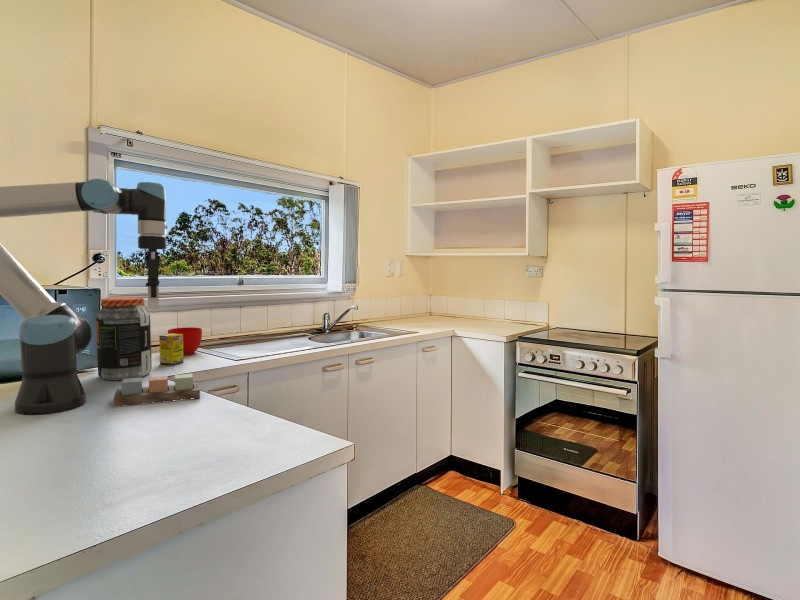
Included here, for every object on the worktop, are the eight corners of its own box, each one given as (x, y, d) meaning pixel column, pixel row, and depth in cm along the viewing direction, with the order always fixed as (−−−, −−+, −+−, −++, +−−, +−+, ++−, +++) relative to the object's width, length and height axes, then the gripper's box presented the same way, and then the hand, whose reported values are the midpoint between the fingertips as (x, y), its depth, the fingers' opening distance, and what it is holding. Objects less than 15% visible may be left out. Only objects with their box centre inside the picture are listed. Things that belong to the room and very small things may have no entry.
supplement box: (173, 365, 178) (173, 336, 177) (159, 364, 179) (158, 335, 178) (184, 362, 183) (183, 333, 183) (170, 361, 185) (169, 333, 184)
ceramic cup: (154, 357, 192) (153, 332, 191) (181, 349, 208) (180, 326, 208) (184, 359, 190) (183, 333, 189) (208, 351, 206) (208, 328, 205)
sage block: (192, 385, 142) (192, 373, 141) (193, 389, 137) (192, 377, 137) (175, 386, 140) (174, 375, 139) (175, 390, 135) (174, 378, 135)
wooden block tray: (198, 390, 144) (198, 382, 144) (199, 398, 136) (199, 390, 136) (117, 398, 136) (117, 389, 135) (113, 407, 128) (113, 397, 127)
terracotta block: (167, 387, 139) (167, 375, 139) (167, 391, 135) (167, 379, 134) (149, 389, 137) (149, 377, 137) (148, 393, 133) (148, 380, 132)
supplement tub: (162, 372, 166) (160, 297, 164) (122, 383, 152) (119, 301, 150) (128, 368, 172) (125, 296, 170) (86, 378, 157) (82, 299, 155)
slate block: (142, 389, 136) (141, 377, 136) (141, 394, 132) (140, 381, 132) (123, 391, 134) (123, 379, 134) (121, 395, 130) (121, 382, 130)
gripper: (168, 234, 135) (169, 310, 137) (164, 237, 157) (165, 303, 159) (137, 233, 132) (138, 311, 133) (138, 236, 154) (139, 303, 155)
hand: (153, 306), depth 146 cm, fingers open, 13 cm apart
